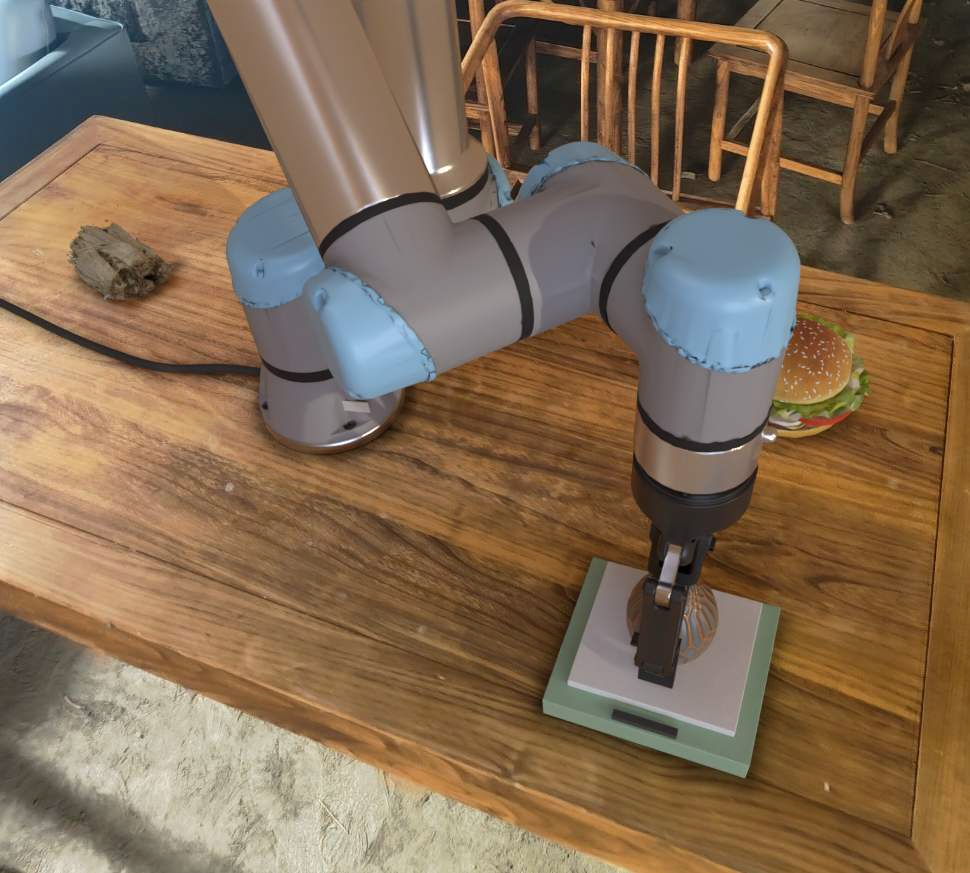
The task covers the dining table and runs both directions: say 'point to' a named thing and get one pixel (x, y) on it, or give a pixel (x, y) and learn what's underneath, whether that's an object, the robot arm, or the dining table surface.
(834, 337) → the food
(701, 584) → the vase
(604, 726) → the scale
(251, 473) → the dining table surface
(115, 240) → the grey-brown fibrous clump
